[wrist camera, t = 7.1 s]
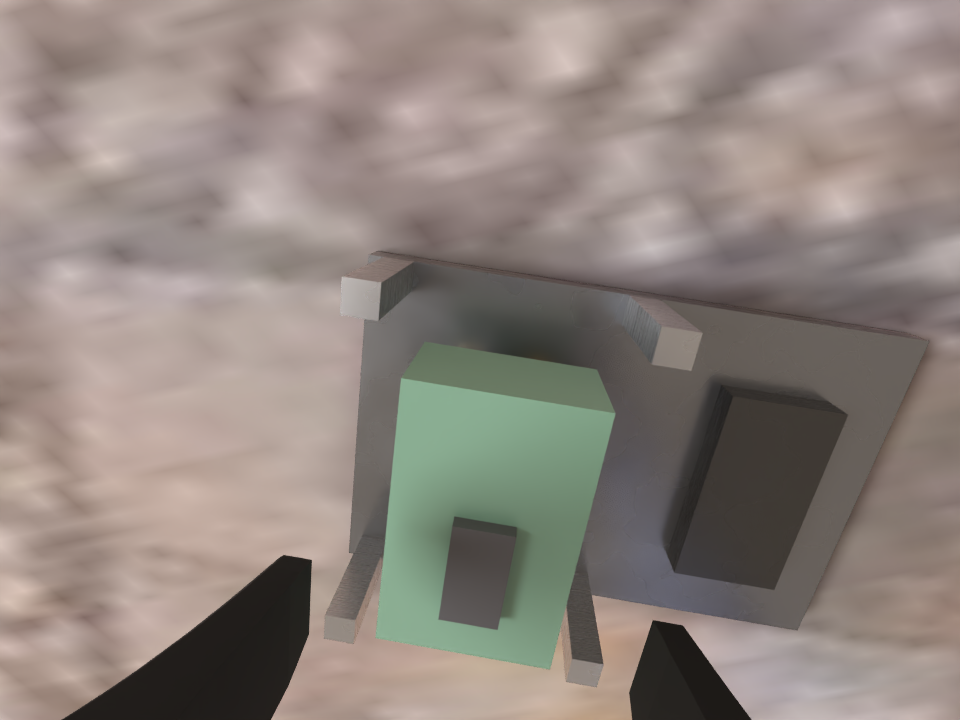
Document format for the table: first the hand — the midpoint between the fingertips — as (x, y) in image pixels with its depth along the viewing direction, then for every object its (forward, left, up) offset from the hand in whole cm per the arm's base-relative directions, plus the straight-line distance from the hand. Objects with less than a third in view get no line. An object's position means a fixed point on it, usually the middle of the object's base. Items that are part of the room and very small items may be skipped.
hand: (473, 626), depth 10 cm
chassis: (-4, 0, -9) cm, 10 cm away
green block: (0, 0, -6) cm, 6 cm away
